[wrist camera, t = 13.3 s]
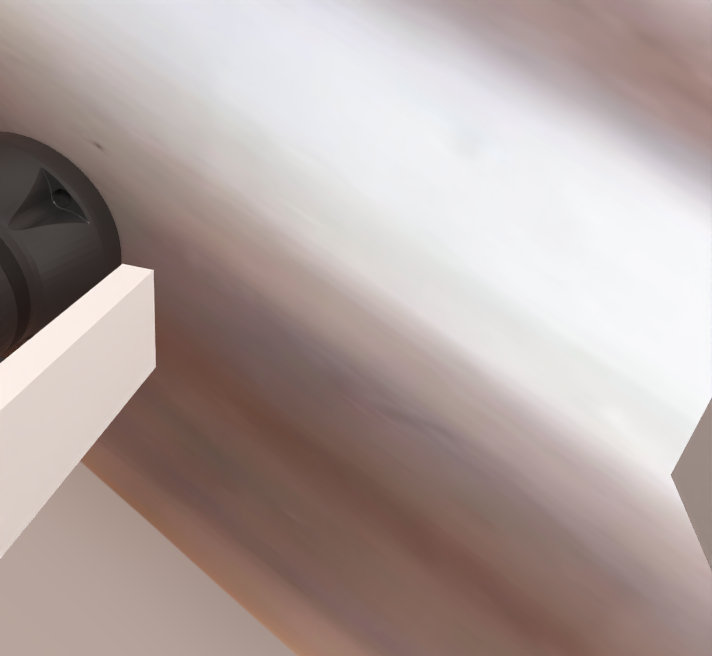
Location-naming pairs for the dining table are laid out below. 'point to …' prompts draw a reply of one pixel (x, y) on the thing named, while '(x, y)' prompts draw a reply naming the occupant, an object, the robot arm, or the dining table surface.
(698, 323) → the dining table surface
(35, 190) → the robot arm
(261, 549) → the dining table surface
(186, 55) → the dining table surface
